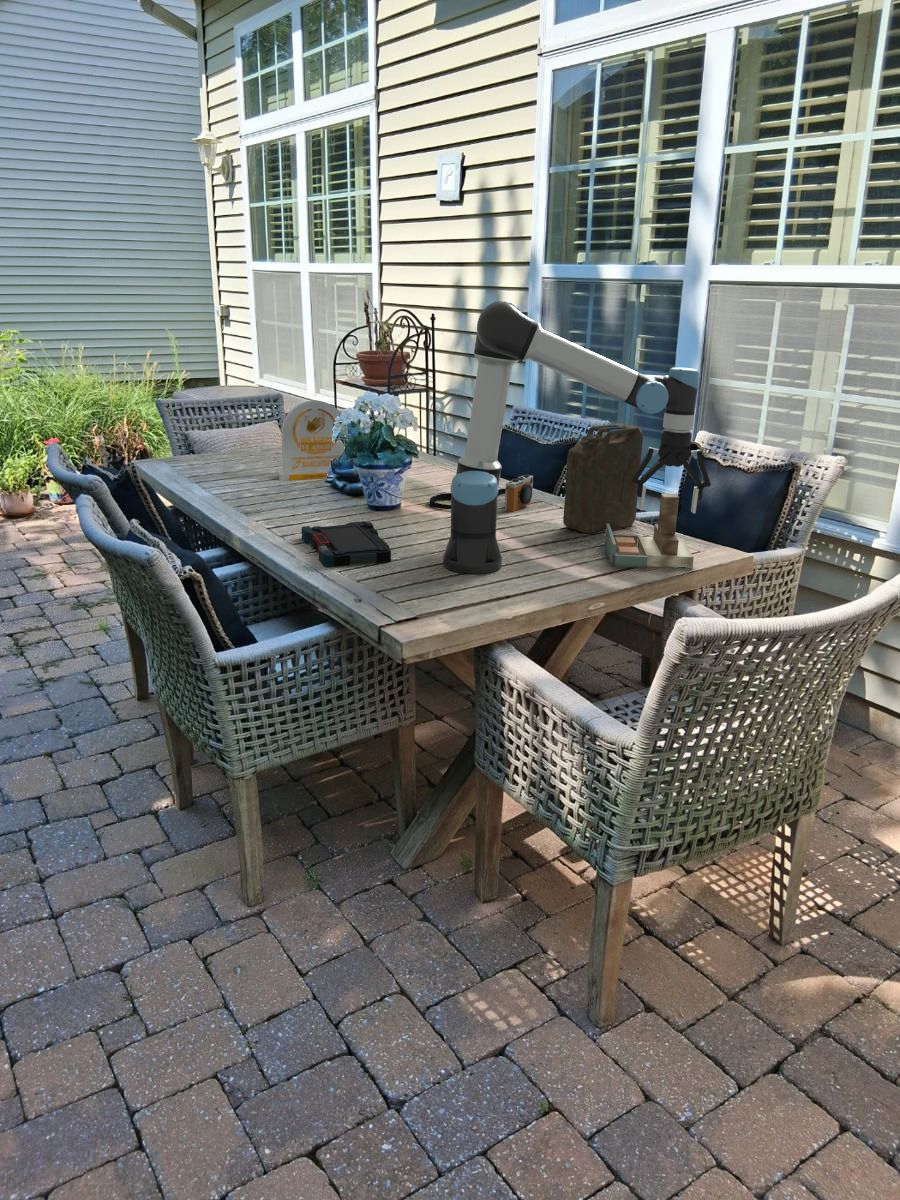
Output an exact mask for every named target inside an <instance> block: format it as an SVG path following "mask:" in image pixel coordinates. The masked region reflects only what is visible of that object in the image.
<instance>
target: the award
mask: <svg viewBox="0 0 900 1200" xmlns="http://www.w3.org/2000/svg"><path fill="white" fill-rule="evenodd" d="M340 413H341V412H340V410H338V409H337V407H335V406H333V405H332V404H330V403H328V402H326V401H321V400H316V399H315V400H307V401H303V402H301V403H298V404H297V405H295V406H294V407H293V408H292V409H290V410H289V412H288V413H287V415H286V416H285V417H284V419H283V423H282V427H281V431H280V432H281V433H280V434H281V451H282V469H278V470H276V476H277V478H278V479H279V481H296V480H297V481H298V480H299V481H300V480H316V479H317V480H319V479H327V478H326V476H327V474H328V471H329V468H330V463H331V459H334V458H338V457H339V456H340V455H341V454H342V453H343V451H344V444H343V443H341V442H337V443H333V442H332V428H333V424H334V421H335V418H336V417H337V415H339V414H340Z"/></svg>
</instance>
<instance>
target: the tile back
mask: <svg viewBox="0 0 900 1200" xmlns="http://www.w3.org/2000/svg"><path fill="white" fill-rule="evenodd" d="M615 542H616V551H618V546H620V547H635V540H634V538H628V537H615Z"/></svg>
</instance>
